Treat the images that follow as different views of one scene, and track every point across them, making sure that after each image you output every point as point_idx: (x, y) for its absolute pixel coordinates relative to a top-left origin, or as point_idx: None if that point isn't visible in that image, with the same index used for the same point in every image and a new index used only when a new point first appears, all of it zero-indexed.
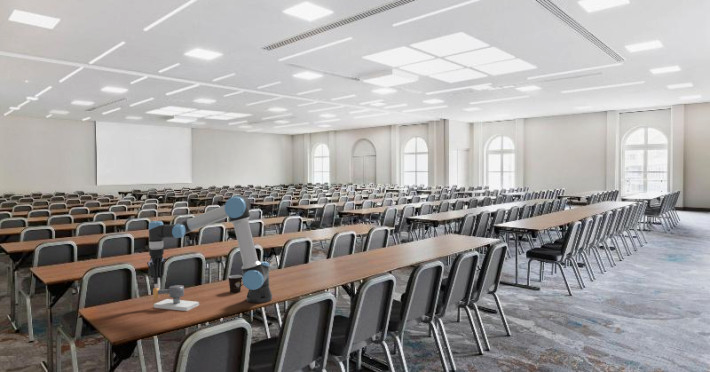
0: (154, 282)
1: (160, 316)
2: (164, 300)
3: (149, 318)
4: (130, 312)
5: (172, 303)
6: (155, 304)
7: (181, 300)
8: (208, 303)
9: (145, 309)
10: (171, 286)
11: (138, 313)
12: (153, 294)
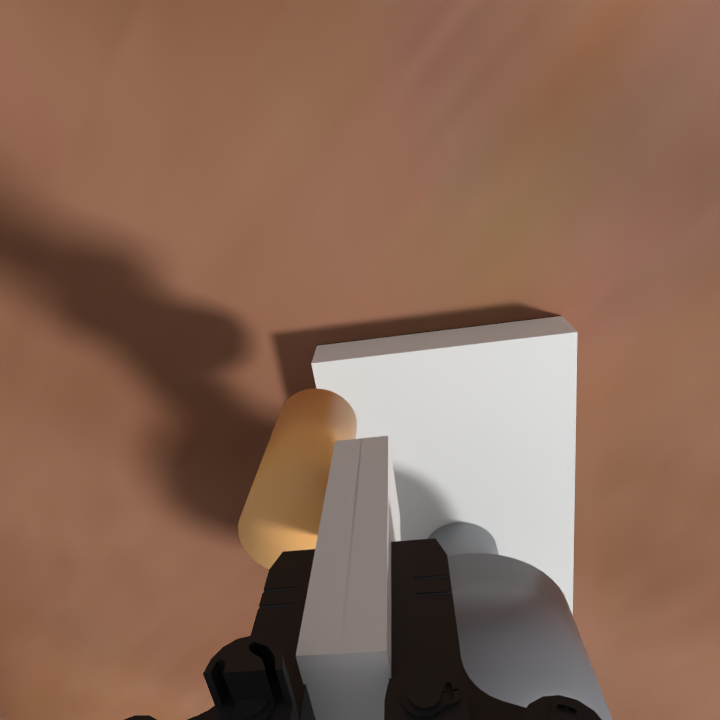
0: (269, 596)
1: (164, 591)
2: (496, 361)
3: (76, 554)
4: (50, 244)
5: (428, 526)
6: (316, 386)
7: (563, 533)
8: (639, 687)
9: (221, 311)
10: (494, 686)
11: (89, 359)
12: (262, 458)
